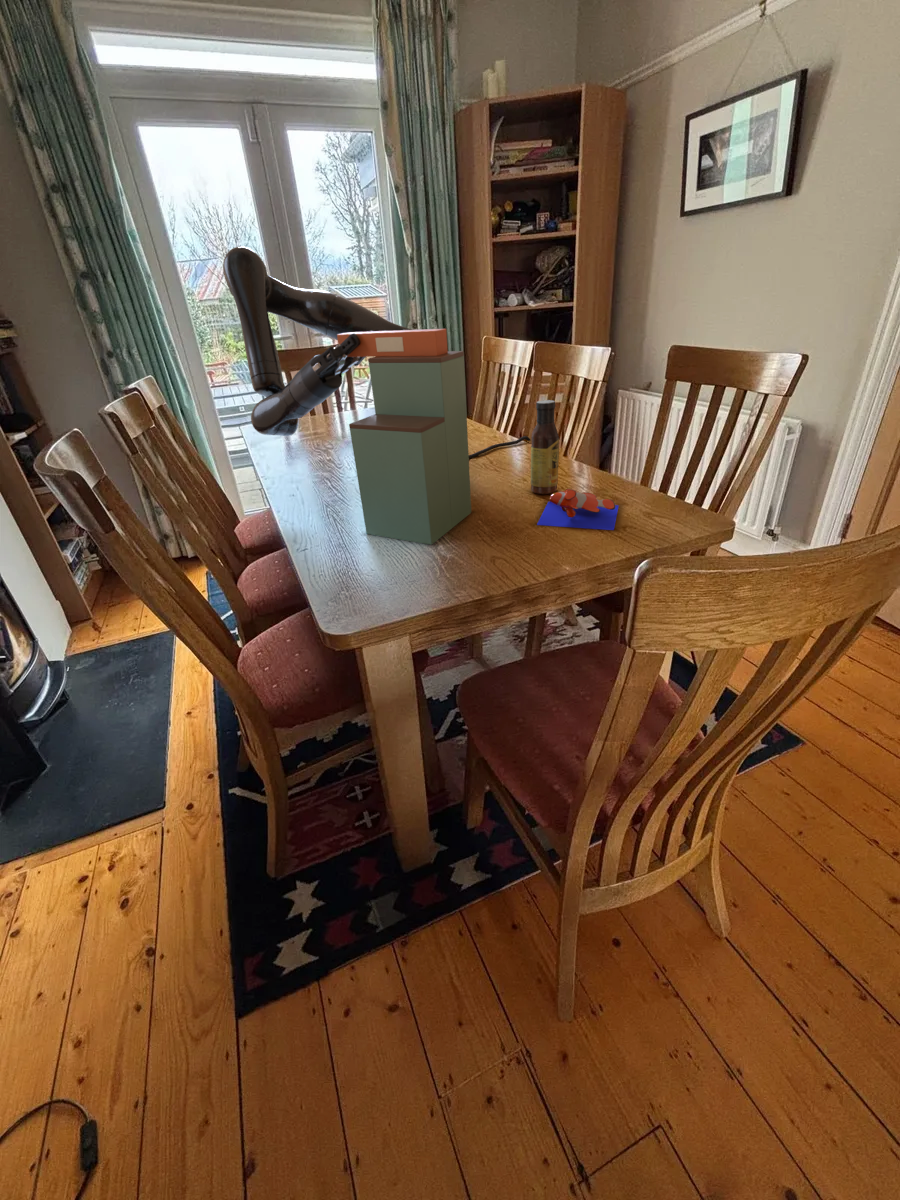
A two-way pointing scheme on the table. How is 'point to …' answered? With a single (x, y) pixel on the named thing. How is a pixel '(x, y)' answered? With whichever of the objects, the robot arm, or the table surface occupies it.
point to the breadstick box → (399, 343)
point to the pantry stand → (414, 448)
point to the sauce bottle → (544, 450)
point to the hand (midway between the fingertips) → (365, 336)
